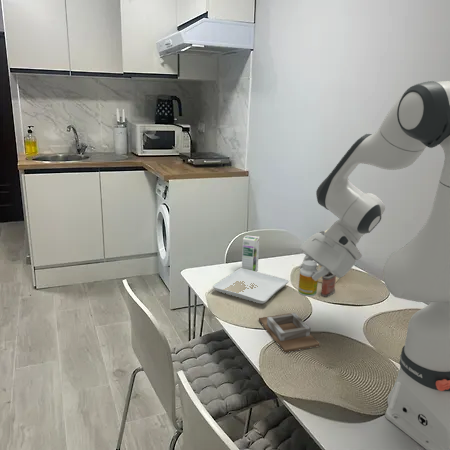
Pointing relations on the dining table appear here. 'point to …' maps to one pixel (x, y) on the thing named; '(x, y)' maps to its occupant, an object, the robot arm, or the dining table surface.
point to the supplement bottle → (307, 279)
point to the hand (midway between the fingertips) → (306, 274)
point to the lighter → (328, 285)
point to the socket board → (289, 332)
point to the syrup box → (250, 253)
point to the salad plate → (259, 294)
